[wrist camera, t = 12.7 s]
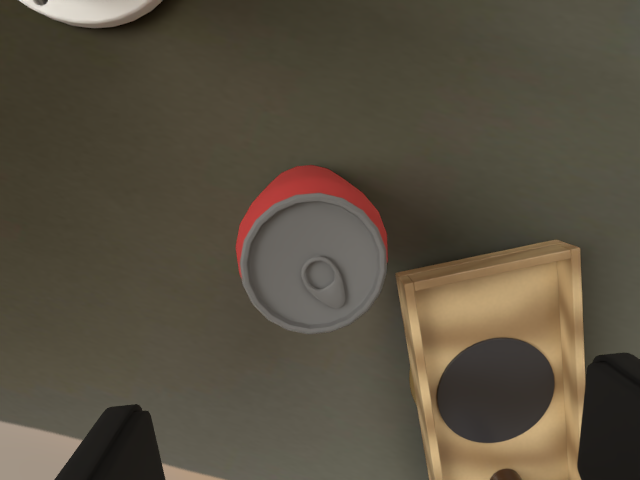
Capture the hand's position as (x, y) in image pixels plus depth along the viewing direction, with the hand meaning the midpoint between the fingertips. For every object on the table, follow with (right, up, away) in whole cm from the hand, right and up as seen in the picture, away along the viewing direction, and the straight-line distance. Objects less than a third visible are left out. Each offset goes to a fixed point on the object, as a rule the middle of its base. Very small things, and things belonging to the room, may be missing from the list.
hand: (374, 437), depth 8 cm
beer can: (-2, +6, +18) cm, 19 cm away
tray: (+11, -6, +20) cm, 24 cm away
